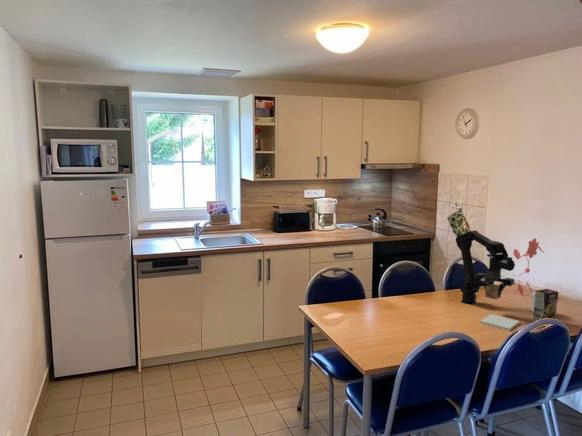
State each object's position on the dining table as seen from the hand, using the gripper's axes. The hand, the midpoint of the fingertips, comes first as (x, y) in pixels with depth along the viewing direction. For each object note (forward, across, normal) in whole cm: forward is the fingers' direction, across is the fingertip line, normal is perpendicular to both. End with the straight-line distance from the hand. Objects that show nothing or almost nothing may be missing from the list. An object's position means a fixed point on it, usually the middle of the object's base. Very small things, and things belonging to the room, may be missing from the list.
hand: (493, 294), depth 240 cm
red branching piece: (+10, +4, +49) cm, 50 cm away
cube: (+1, 0, 0) cm, 1 cm away
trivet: (+10, +9, -13) cm, 19 cm away
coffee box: (+10, +24, +6) cm, 27 cm away
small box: (+10, +18, +18) cm, 27 cm away
